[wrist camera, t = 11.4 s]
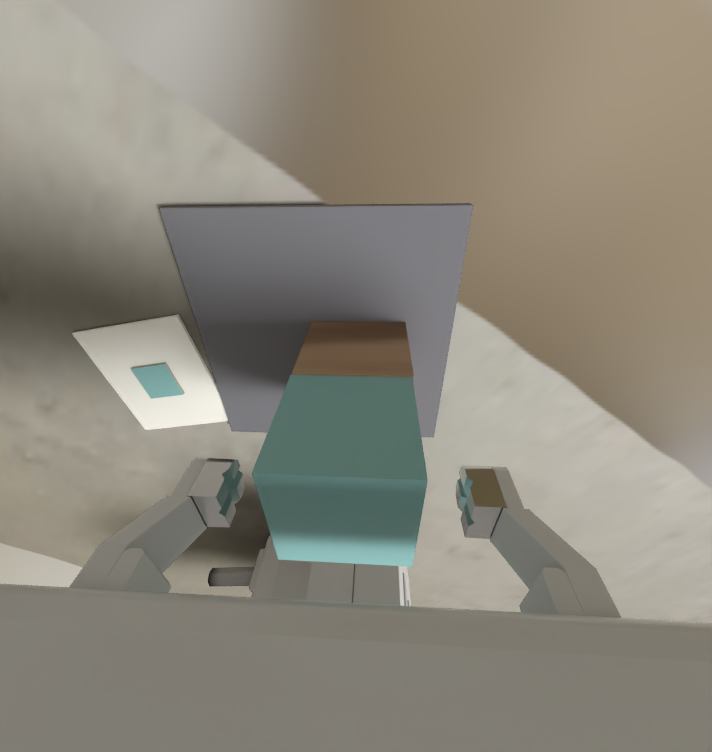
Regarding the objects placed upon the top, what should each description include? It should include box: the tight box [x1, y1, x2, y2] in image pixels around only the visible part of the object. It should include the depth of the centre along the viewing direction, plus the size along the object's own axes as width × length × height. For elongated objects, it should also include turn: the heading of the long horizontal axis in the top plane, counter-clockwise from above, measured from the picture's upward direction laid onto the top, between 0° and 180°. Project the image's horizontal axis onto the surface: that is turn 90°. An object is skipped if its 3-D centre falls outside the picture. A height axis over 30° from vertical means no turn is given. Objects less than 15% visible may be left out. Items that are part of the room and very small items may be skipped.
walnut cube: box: [292, 321, 414, 379], centre depth 17 cm, size 5×5×5 cm
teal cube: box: [252, 375, 428, 567], centre depth 13 cm, size 5×5×5 cm
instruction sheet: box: [72, 314, 228, 430], centre depth 21 cm, size 8×7×1 cm
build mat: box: [159, 203, 473, 437], centre depth 19 cm, size 14×14×1 cm
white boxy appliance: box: [208, 534, 411, 606], centre depth 24 cm, size 16×19×20 cm
